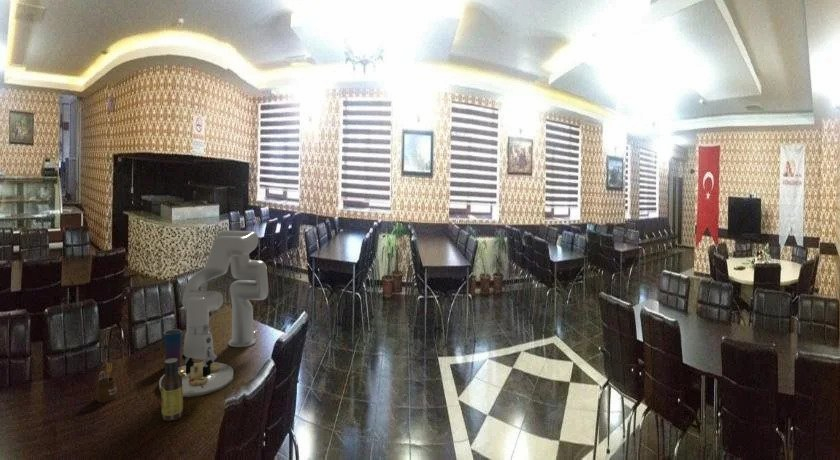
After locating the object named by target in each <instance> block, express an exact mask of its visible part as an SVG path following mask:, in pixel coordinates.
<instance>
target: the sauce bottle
mask: <svg viewBox="0 0 840 460" xmlns="http://www.w3.org/2000/svg"><path fill="white" fill-rule="evenodd" d="M163 366H164V374H165V376H164V377H163V379H162V381H161V391H160V401H161V404H160V406H161V414H162V417H161V418H162V420H164V421H167V422H172V421H171V420H173V421H176V420H179V419H180V418H181V417H182V416H183V414H184V413H183V411H184V397H183V385H182V377H181V376H180V374H179V373H178V359H177V358H170V359H167V360H166V359H165V360H164V361H163ZM178 418H179V419H178Z"/></svg>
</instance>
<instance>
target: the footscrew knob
mask: <svg viewBox="0 0 840 460" xmlns="http://www.w3.org/2000/svg"><path fill="white" fill-rule="evenodd" d="M197 363H198V364H196V365H194V366H192V367H190V370H191V376H190V377H189V385H191V386H200V385H203V384H205V383H207V381H208V376H206V377H203V367H204V364H203V362H202V361H200V362H197Z"/></svg>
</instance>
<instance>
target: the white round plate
mask: <svg viewBox="0 0 840 460" xmlns="http://www.w3.org/2000/svg"><path fill="white" fill-rule="evenodd" d="M198 363H199V362H196V363H195V362H194V365H196V364H198ZM178 373H179V374H180V376H181V377H182V385H183V398H191V397H192V398H193V397H199V396H203V395H204V396H205V395H207V394H212V393H215V392H217V391H220V390H222V389H223V388H225V387H227V386H228V385H230V383H232V381H233V380H234V369H233V367H231V365H228V364H226V363H221V362H215V361H214V362H213V363H212V364H211V365H210V375H208V381H207V383H205V384H203V385H200V386H191V385H189V377H190V376H191V372H190V373H188V374H186V364H185V365H182V366H179V367H178ZM164 376H165V373H164V374H163V375H161V377H160V378H159V381H158V389H159V391H160V392H161V381H162V379H163V377H164Z"/></svg>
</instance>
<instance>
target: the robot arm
mask: <svg viewBox="0 0 840 460" xmlns="http://www.w3.org/2000/svg"><path fill="white" fill-rule="evenodd" d="M258 244H259V236H258V233H256V231H249V230H226V229H225V230H221V231H219V232H218V234H217V236H216V238H214V240H213V243H212V245H211V249H210V251H209V255H208V258H207V261H206V265H205V266H204V267H203V268H201V269H200V270H198V271H197V272H195V274H193V276H192V277H191V278H190V279H189V280H188V281H187V283H186V285H185V288H184V292H183V294H182V295H183V296H182V300H181V302H182V304H181V305H182V306H183V308H184V309H185V310H186V332H185V334H184V341H183V348H181V351H180V357H181V358H182V359H183V361H184V364H185V365H186V374H188V373H190V372H191V370H190V367H192V366H194V364H195V362H194V359H195V360H198V361H199V360H200V361H201V362H203V364H204V367H203V377H206V376H208V375H210V365H211V364H212V363H213V362H215V361H216V359H217V358H218V356H217V355H216V353H215V352H214V351H215V350H214V340H213V335H212V331H211V326H210V312H214V311H217V310H219V309H220V308H221V307H222V305H223V303H224V295H223V293H221V292H219V291H216V290H198V289H199V288H200V287H201V286H202V285H203V284H205V283H206V282H210V280H213V279H216V278H219V277H221V276H224V275H225V274H227V273H228V271H229V267H230V271H231V272H230V273H231V276H232V277H233V278H234V279H236V280H235V281H233V282H232V283H231V284H230V287H229V293H230V294H229V295H230V299H231V339H230V340H229V341H228V345H229V346H230V347H233V348H247V347H250V346H253V345H254V344H256V343H257V339H256V338H255V336H256V335H258V333H259V331H258V330H257V329H255V330H254V306H253V305H252V303H251V301H263V300H266V299H267V298H268V296H269V295H268V294H269V281H268V279H269V278H268V269H267V265H266V263H265V262H264V261H263V260H258V259H257V260H256V259H251V258H250V254H251V253H252V252H253V251H255V249H256V248H257V247H258Z"/></svg>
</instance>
